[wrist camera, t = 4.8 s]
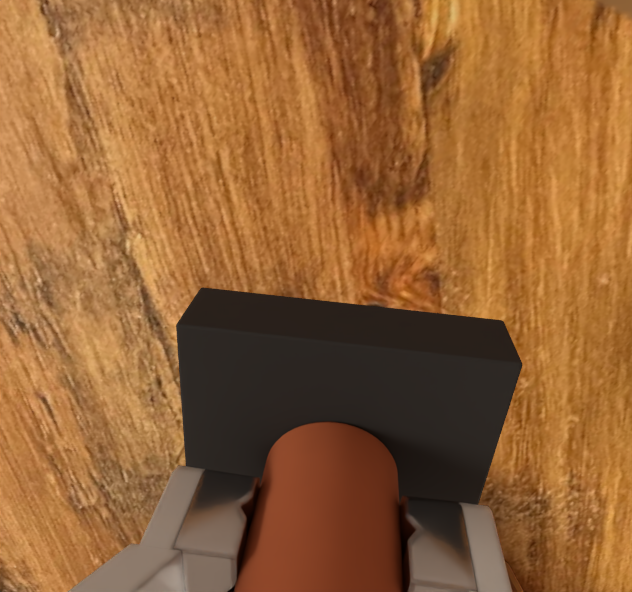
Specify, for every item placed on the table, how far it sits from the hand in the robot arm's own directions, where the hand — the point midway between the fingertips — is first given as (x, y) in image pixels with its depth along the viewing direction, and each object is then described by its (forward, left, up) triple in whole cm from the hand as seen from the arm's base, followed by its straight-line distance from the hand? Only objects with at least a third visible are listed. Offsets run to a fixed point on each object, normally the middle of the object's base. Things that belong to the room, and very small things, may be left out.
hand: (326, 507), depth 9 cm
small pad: (0, 0, -2) cm, 2 cm away
